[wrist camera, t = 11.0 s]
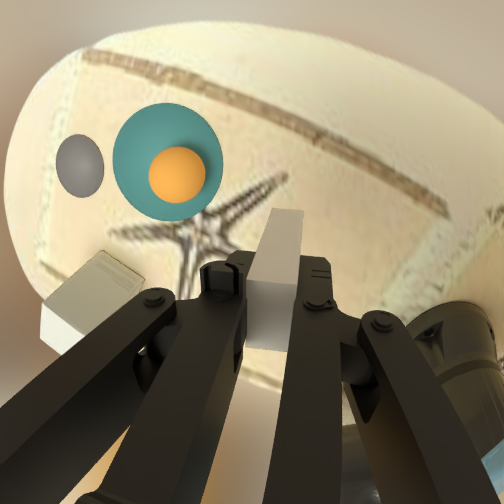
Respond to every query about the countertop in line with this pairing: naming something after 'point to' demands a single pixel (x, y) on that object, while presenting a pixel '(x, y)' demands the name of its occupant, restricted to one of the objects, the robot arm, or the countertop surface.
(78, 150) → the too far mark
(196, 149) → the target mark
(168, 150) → the ball
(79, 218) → the countertop surface
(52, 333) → the supplement box
